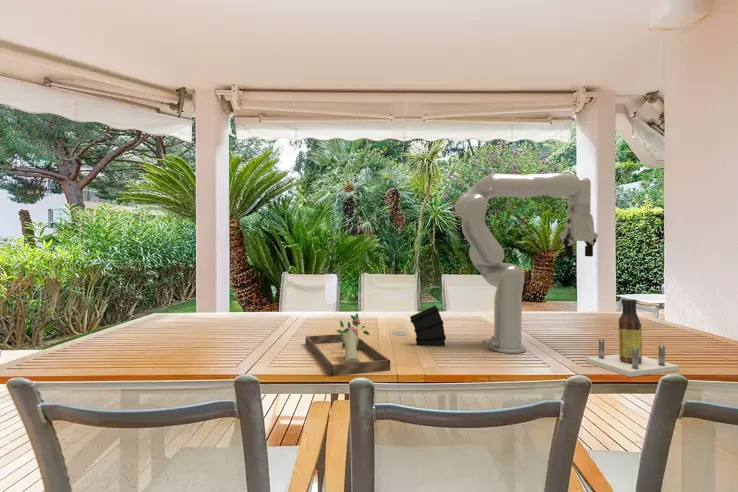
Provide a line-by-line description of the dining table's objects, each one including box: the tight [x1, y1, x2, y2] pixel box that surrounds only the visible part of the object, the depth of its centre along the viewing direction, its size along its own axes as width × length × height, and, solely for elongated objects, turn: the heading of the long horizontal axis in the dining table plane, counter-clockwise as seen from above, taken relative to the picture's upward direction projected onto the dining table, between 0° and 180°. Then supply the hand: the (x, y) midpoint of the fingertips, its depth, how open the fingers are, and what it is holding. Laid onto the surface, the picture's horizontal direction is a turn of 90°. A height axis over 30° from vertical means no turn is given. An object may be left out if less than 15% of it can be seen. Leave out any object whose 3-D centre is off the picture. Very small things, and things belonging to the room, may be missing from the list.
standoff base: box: [585, 338, 679, 378], centre depth 134 cm, size 20×16×8 cm
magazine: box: [409, 304, 447, 347], centre depth 160 cm, size 4×13×15 cm, turn 83°
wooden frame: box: [305, 333, 391, 377], centre depth 144 cm, size 19×41×3 cm, turn 19°
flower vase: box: [335, 312, 370, 364], centre depth 142 cm, size 12×12×35 cm
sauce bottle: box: [618, 298, 643, 363], centre depth 134 cm, size 6×6×20 cm
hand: (578, 256), depth 158 cm, fingers open, 9 cm apart
